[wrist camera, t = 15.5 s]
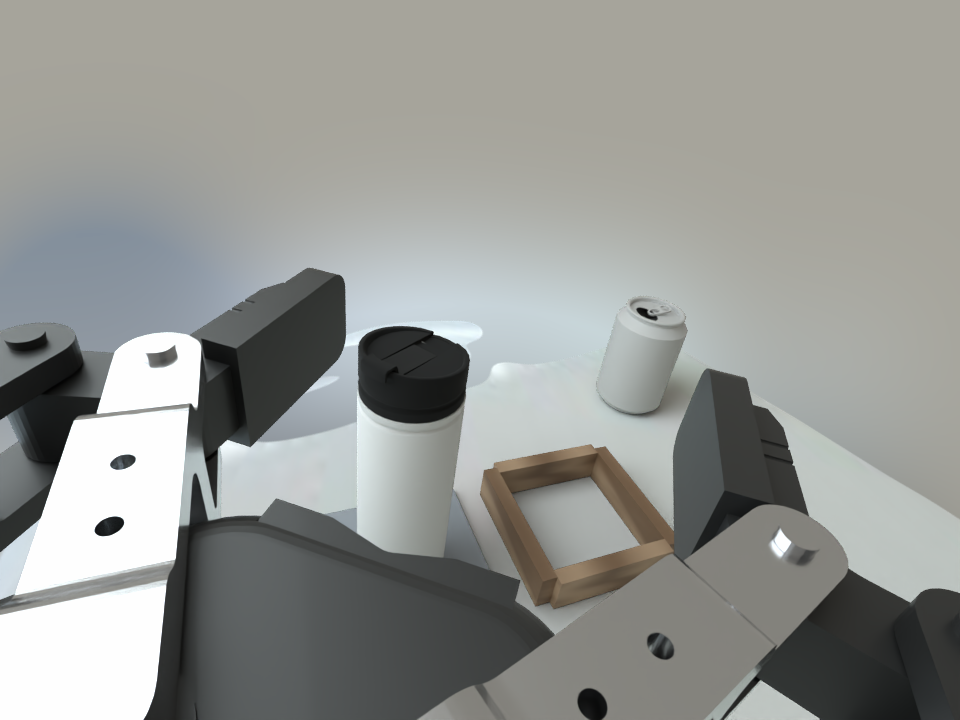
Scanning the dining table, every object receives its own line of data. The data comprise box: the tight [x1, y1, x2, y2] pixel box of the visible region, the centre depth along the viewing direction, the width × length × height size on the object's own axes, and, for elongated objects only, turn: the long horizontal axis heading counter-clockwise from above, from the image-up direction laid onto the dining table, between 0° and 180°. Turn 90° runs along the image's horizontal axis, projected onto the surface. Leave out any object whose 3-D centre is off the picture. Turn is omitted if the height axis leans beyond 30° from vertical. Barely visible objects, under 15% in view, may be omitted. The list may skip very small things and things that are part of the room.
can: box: [596, 296, 687, 414], centre depth 60 cm, size 8×8×12 cm
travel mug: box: [357, 326, 470, 558], centre depth 35 cm, size 6×7×20 cm
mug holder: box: [480, 444, 674, 609], centre depth 46 cm, size 12×12×3 cm
